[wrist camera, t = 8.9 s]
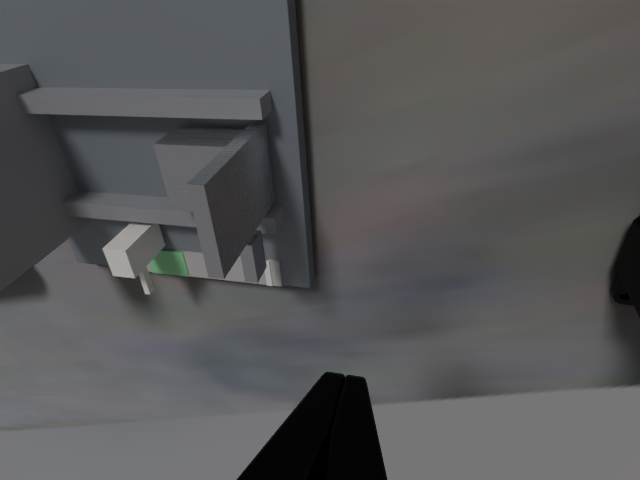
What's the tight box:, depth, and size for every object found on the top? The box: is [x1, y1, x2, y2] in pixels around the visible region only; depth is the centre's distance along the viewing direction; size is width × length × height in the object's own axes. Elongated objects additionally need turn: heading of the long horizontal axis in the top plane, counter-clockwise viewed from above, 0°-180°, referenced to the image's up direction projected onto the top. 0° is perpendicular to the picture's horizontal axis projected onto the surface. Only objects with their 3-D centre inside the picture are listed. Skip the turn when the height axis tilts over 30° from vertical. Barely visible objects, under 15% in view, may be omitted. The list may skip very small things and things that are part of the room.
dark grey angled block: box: [153, 122, 275, 283], centre depth 18 cm, size 4×6×6 cm, turn 3°
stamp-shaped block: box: [102, 222, 165, 295], centre depth 22 cm, size 1×4×3 cm, turn 3°
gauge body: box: [0, 0, 315, 292], centre depth 18 cm, size 14×14×7 cm
